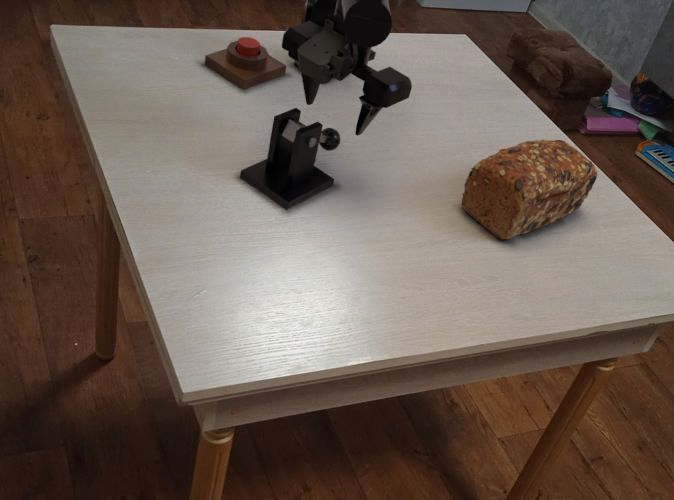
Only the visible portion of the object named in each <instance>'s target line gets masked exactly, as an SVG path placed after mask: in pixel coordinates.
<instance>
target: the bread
mask: <svg viewBox="0 0 674 500" xmlns="http://www.w3.org/2000/svg"><path fill="white" fill-rule="evenodd" d="M597 178H598V171H597V167H596V165H595V164H594V163H593V161H592V160H591V161H590V160H589V159H588V158H586V156H584V155H583V154H582V152H580V151H579V150H578V149H577V148H575V147H574V146H572V145H571V144H569V143H568V142H566V141H564V140H561V139H556V140H549V139H546V140H545V139H539V140H537V139H535V140H526V141H524V142H520V143H518V144H516V145H513V146H510V147H507V148H500V149H499V150H498V152H496V153H495V154H492V155H489V156H488V157H486V158H483V159H481V160H480V161H478V162H477V163H476V164H475V165H474V166H473V167H471V170H470V172H469V174H468V175H467V178H466V179H465V182H464V184H463V185H464V192H463V193H462V198H461V203H460V205H461V206H462V207H463V209H464V210H465V212H466V213H467V214H468V215H469V216H471V218H473V219H474V220H475V221H476V222H478V223H479V224H481V225H482V226H483V228H485V229H486V230H487V231H489V232H490V233H491V234H493V235H494V236H495V237H496V238H498V239H501V240H512V239H513V238H514V237H516V236H518V235H523V234H527V233H529V232H532V231H534V230H537V229H539V228H543V227H544V226H549V225H550V224H552V223H555V222H556V221H557V220H561V219H563V217H567V216H568V215H570V214H573V213H574V212H576V211H577V210H579V209H580V208H581V206H582V205H583V204H584V203H583V202H584V201H585V200H587V198H588V197H589V194H590V191H592V190H593V186H594V184H595V183H596V181H597Z"/></svg>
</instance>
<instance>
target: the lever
mask: <svg viewBox="0 0 674 500" xmlns="http://www.w3.org/2000/svg"><path fill="white" fill-rule="evenodd" d="M306 126H307V125H306V124H304V123H303V122H301V121H300V120H299V121H294V120H290V119H289V120H288V122H287V125H286V127H285V129H284V131H283V133H282V136H283V137H285V138H286V139H288V140H289V141H291V142H292V143H294V140H295V135H296V131H297V130H299V129H301V128H304V127H306ZM341 140H342V139H341V135H340V133H339V131H338V130H336V128H333V127H326V128H324V129H322V132H321V136H320V141H319V146H320V147H321V148H322V150H324V151H328V152H331V151H335V150H336V149H337V148H339V146H340V145H341Z"/></svg>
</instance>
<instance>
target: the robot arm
mask: <svg viewBox="0 0 674 500" xmlns="http://www.w3.org/2000/svg"><path fill="white" fill-rule="evenodd" d="M301 14H302V15H301V22H300V23H298V24H295V25H292V26H289V27H288V28H286V29H285V31H284V33H283V34H282V40H281V48H282V49H283V50H284V51H286V52H287V55H288V57H289V58H290V59H292V60H293V66H295V67H297V68H298V71H299V72H300V76H301V80H302V86H303V92H304V98H305V104H306V105H307V106H311V105H313V104H314V102H315V99H316V97H317V94H318V93H319V88H320V85H326V84H328V83H330V82H331V81H332V80H333V79H335V80H337V81H338V82H342V81H343V80H345V79H346V78H347V77H348V76H350V75H353V76H355V78H357V79H359V80H361V81H362V82H363V86H362V92H363V94H362V95H360V96H359V97H358V100H359V101H360V103H361V107H360V111H359V114H358V117H357V122H356V125H355V133H354V135H355V136H357V137H358V136H360V135H362V134H363V133H364V132H365V131H366V129H367V128H368V127H369V125H370V124H371V123H372V122H373V121H374V119H375V118H376V117H377V115H378V114H379V113H380V111H381V110H383V108H384V109H388V108H390V107H392V106H394V105H396V104H398V103H401V102H402V101H405V100H407V99H409V98H410V95H411V92H412V88H413V86H412V85H413V84H412V81H411V79H410V77H409V76H407V75H405V74H404V73H402V72H400V71H398V70H397V69H395V68H393V67H391V66H387V67H385V68H382V69H380V70H378V71H377V70H376V69H374V68H372V67H371V66H369V65H368V64H369V62H371V61H374V60H375V58H376V53H377V52H376V51H375V50H372V48H374V47H377V46H378V45H381V44H383V42H385V41H386V40H387V38H388V37H389V36H390V35H391V34H390V33H391V31H392V27H393V18H392V13H391V9H390V3H389V0H306V1H305V4H304V7H303V10H302V13H301Z"/></svg>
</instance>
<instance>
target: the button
mask: <svg viewBox="0 0 674 500" xmlns="http://www.w3.org/2000/svg"><path fill="white" fill-rule="evenodd" d="M237 41H238V43H237V52H238V53H240V54H242V55H245V56H254V57H255V56H258V54H259V48H260V45H261V43H260V42H259V40H257V39H256V38H253V37H249V36H242V37H239V38H238V39H237Z"/></svg>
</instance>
